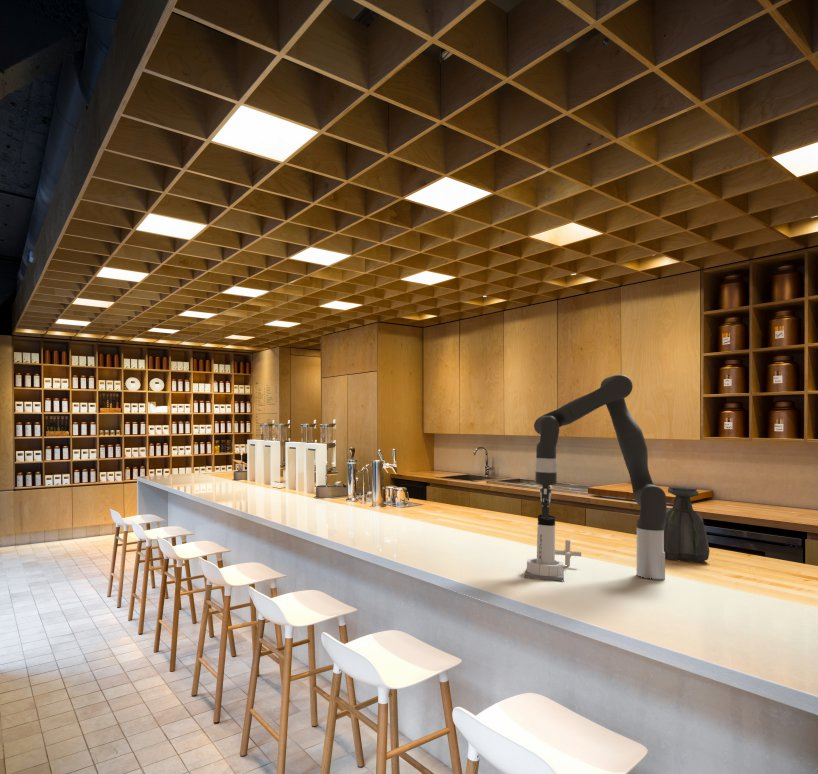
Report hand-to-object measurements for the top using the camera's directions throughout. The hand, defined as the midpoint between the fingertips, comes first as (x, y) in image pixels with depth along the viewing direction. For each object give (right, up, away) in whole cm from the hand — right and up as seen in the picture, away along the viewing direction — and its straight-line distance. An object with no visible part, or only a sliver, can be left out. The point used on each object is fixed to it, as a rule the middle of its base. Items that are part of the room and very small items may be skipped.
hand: (545, 516), depth 208 cm
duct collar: (-1, -21, -2) cm, 21 cm away
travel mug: (0, -20, -1) cm, 20 cm away
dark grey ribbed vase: (+68, -27, +39) cm, 83 cm away
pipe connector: (+12, -23, +14) cm, 29 cm away
